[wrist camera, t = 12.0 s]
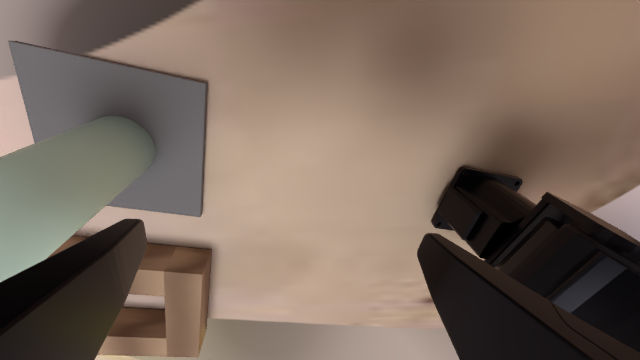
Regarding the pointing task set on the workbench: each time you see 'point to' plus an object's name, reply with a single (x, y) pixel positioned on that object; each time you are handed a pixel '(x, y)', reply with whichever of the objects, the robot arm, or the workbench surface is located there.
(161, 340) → the socket block
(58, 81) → the mat
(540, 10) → the workbench surface
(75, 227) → the pin
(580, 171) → the workbench surface
